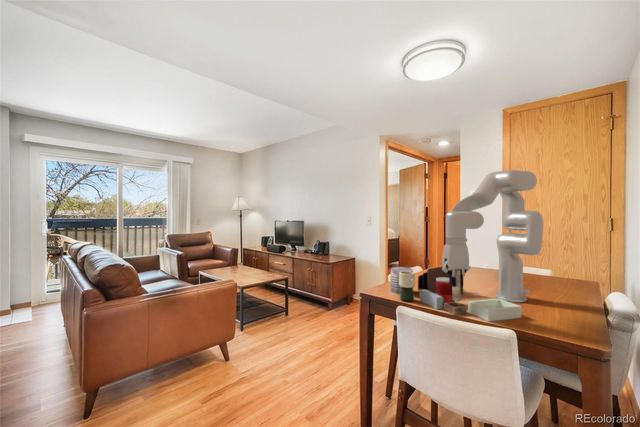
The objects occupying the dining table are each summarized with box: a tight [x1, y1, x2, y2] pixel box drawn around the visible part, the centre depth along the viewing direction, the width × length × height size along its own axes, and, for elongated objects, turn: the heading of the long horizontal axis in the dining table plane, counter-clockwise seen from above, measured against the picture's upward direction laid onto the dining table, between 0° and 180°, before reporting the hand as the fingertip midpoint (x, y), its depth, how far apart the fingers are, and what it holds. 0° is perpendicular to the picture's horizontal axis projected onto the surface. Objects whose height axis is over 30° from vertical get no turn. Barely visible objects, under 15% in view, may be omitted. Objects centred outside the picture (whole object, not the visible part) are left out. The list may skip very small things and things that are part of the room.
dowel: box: [452, 269, 461, 302], centre depth 114 cm, size 3×3×13 cm
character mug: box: [399, 271, 416, 302], centre depth 129 cm, size 11×7×13 cm, turn 12°
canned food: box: [436, 277, 456, 306], centre depth 125 cm, size 8×8×11 cm
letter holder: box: [417, 266, 464, 295], centre depth 143 cm, size 10×20×14 cm, turn 100°
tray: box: [467, 298, 522, 322], centre depth 111 cm, size 16×10×4 cm, turn 105°
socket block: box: [443, 301, 468, 316], centre depth 114 cm, size 6×6×3 cm
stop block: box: [419, 290, 444, 310], centre depth 123 cm, size 3×12×5 cm, turn 14°
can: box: [390, 266, 414, 295], centre depth 143 cm, size 11×11×12 cm
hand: (456, 285), depth 114 cm, fingers closed on dowel, 3 cm apart
